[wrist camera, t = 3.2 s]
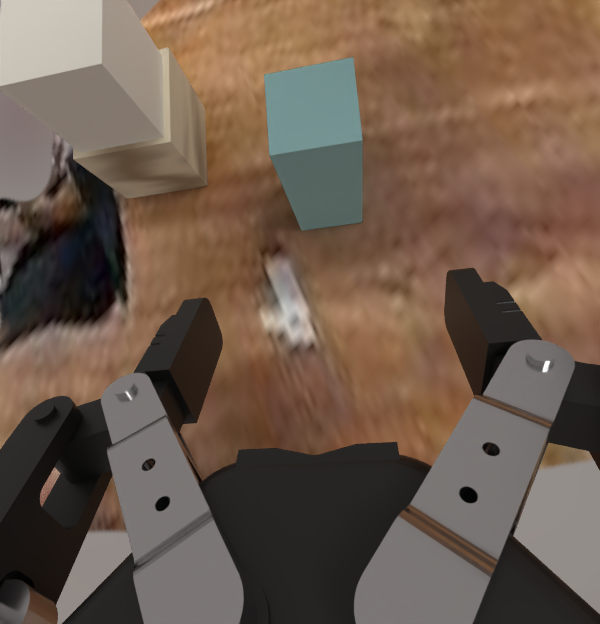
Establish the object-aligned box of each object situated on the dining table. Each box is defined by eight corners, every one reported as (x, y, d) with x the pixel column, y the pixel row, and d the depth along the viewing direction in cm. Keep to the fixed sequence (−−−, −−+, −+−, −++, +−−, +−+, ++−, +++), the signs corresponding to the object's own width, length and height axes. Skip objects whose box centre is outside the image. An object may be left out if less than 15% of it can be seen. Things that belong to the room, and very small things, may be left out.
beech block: (204, 108, 31) (168, 47, 25) (208, 186, 30) (170, 141, 24) (127, 122, 32) (75, 68, 26) (127, 199, 31) (73, 159, 25)
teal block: (356, 165, 28) (353, 57, 18) (362, 222, 27) (362, 140, 18) (297, 175, 29) (264, 74, 19) (301, 230, 28) (269, 155, 18)
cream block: (162, 56, 25) (102, -38, 19) (164, 137, 24) (101, 63, 18) (82, 74, 26) (2, -11, 20) (81, 153, 25) (-4, 87, 19)
